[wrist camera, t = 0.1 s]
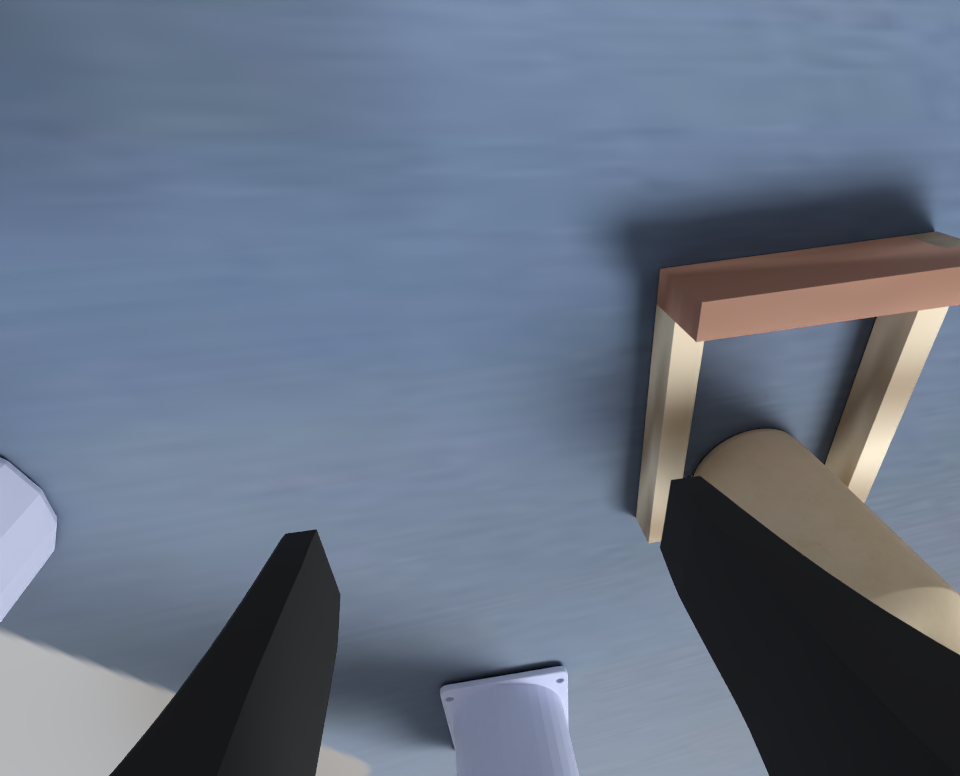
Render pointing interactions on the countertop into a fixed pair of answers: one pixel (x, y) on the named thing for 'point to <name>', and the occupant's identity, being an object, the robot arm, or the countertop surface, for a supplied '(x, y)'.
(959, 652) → the candle
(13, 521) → the soap bottle
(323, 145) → the countertop surface
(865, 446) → the channel
